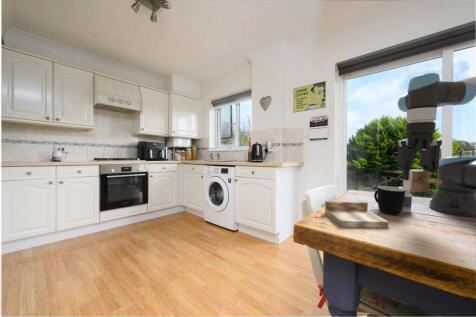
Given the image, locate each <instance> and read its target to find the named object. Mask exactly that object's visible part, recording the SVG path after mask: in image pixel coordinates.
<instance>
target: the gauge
mask: <svg viewBox="0 0 476 317" xmlns="http://www.w3.org/2000/svg"><path fill="white" fill-rule="evenodd" d="M410 171H413V177H412V190H409V191H410V192H413V193H429V192H430V189H431V184H434V185H437V184H439V185H440V184H442V181H441V180H437V178H433V177H432V172H431V171H425V170H423V169H416V168H415V169H412V168H411V170H410ZM403 183H404V180H403V179H402V184H403ZM406 190H407V189H406Z"/></svg>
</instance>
